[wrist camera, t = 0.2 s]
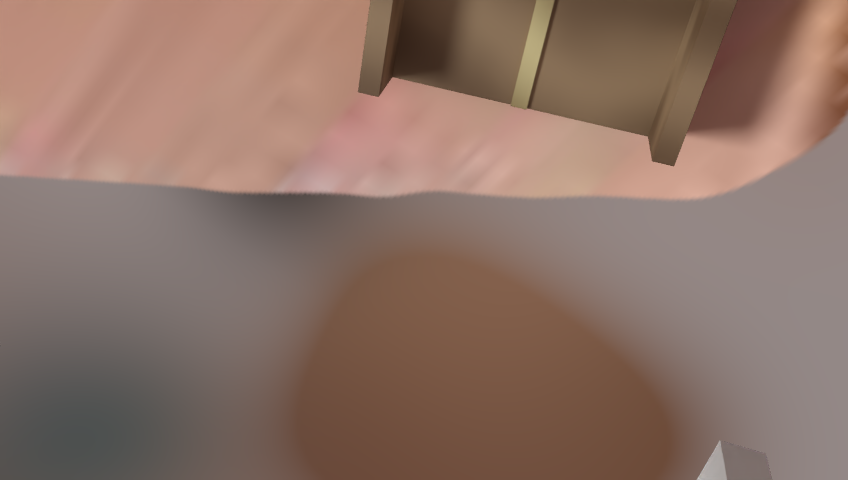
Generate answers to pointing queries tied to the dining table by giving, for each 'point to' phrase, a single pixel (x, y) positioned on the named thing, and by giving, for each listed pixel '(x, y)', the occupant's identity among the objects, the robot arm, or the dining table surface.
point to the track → (557, 57)
